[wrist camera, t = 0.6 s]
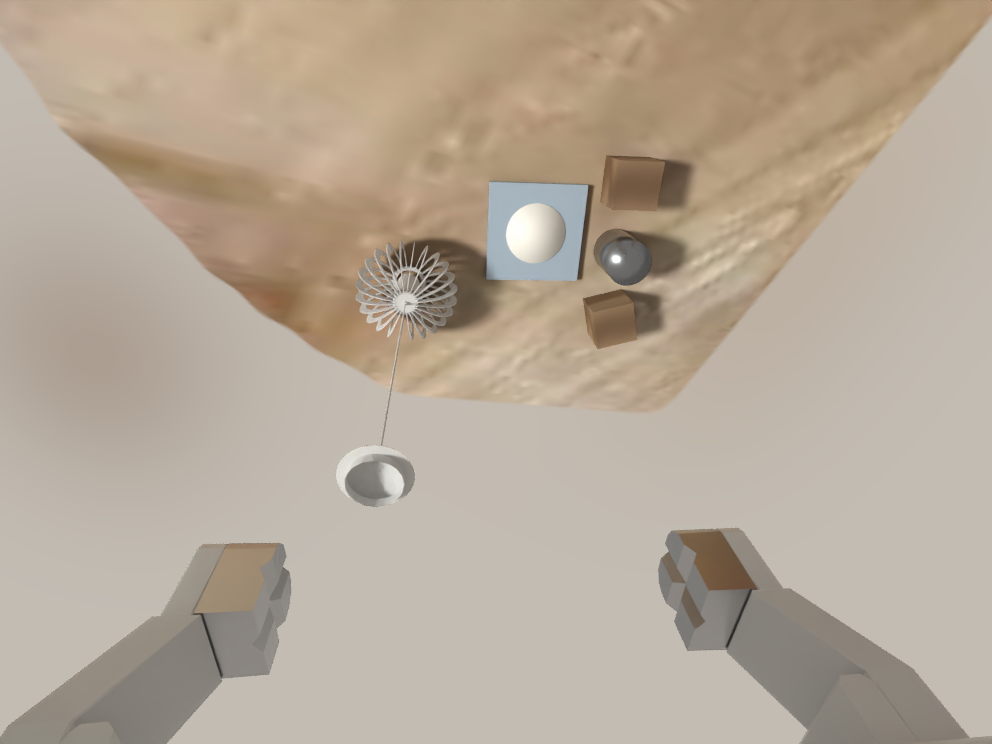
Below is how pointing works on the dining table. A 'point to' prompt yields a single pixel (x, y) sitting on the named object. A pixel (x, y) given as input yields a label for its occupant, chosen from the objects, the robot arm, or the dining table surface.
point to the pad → (535, 230)
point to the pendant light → (379, 468)
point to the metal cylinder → (622, 257)
